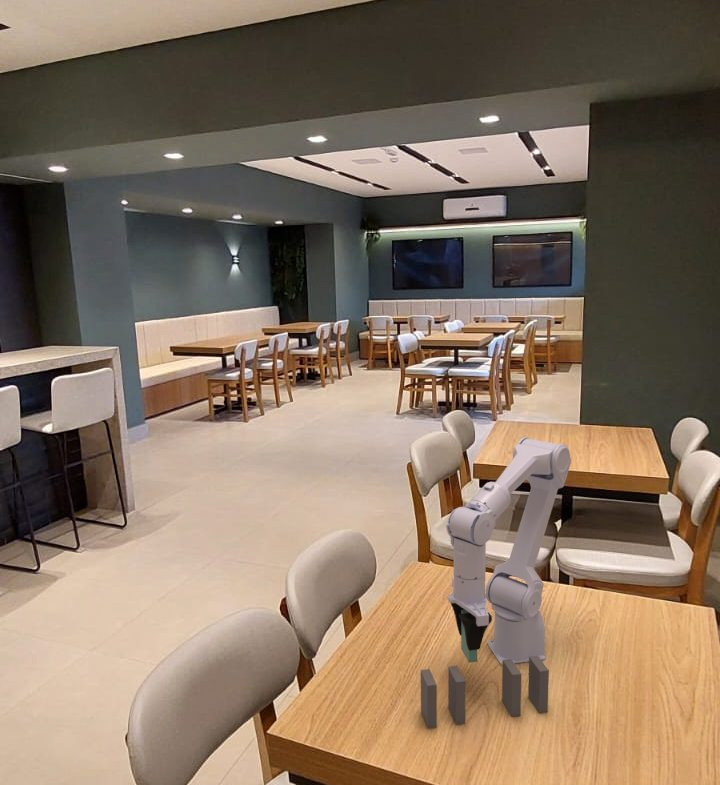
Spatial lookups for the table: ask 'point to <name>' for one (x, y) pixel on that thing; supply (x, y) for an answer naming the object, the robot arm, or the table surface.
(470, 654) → the teal domino
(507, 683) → the domino
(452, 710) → the domino
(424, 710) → the domino
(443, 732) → the table surface
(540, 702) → the domino
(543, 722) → the table surface
